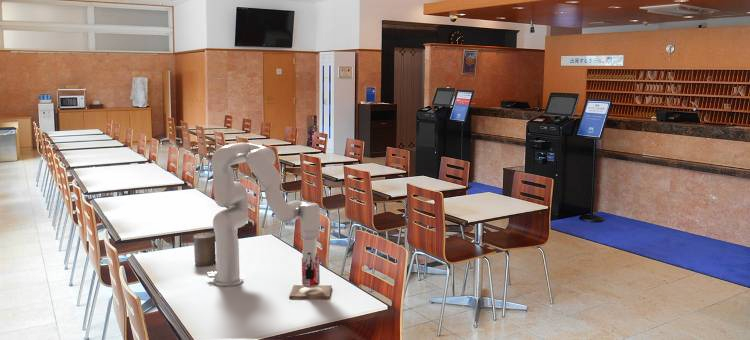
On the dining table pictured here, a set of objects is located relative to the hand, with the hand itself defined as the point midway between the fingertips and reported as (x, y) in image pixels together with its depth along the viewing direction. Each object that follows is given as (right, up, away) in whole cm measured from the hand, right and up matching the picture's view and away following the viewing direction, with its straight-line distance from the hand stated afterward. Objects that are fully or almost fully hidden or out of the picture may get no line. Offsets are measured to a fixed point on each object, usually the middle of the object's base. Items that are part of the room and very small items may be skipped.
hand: (310, 275), depth 262 cm
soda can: (0, -4, +1) cm, 4 cm away
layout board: (0, -8, +1) cm, 8 cm away
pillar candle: (-54, -1, +41) cm, 67 cm away
